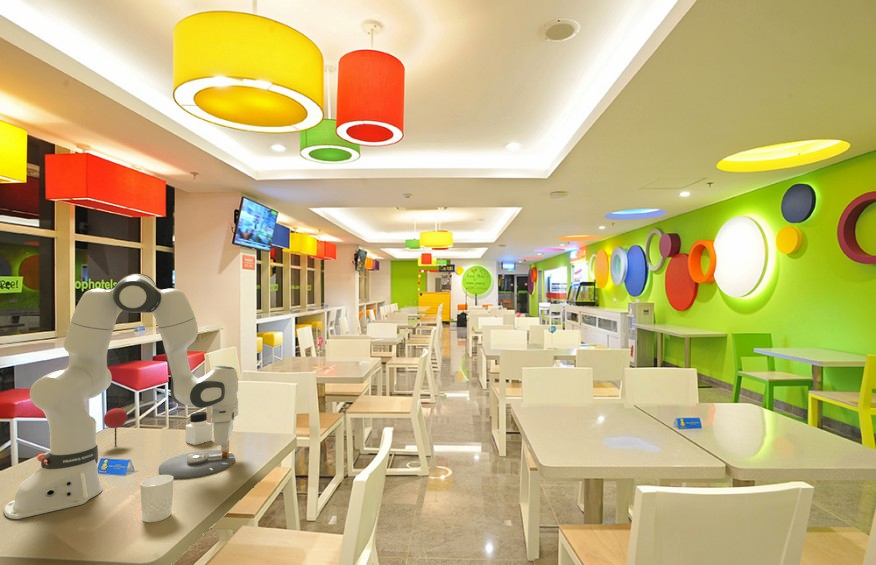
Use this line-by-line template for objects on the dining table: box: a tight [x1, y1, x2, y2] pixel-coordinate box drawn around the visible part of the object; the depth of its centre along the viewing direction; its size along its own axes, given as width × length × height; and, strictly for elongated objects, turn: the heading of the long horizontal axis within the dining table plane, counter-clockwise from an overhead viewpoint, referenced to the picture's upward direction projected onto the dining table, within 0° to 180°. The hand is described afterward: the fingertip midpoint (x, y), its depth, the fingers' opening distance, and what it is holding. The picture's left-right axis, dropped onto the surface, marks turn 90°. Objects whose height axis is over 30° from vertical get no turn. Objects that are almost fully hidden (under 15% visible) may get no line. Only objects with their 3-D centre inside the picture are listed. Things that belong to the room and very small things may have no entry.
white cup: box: [139, 474, 174, 523], centre depth 129 cm, size 8×8×10 cm
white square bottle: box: [185, 410, 212, 446], centre depth 193 cm, size 7×7×12 cm
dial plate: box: [158, 449, 235, 480], centre depth 166 cm, size 24×24×1 cm
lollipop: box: [103, 407, 128, 447], centre depth 188 cm, size 8×8×15 cm
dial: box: [187, 440, 230, 465], centre depth 167 cm, size 14×7×6 cm, turn 106°
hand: (224, 450), depth 166 cm, fingers closed
